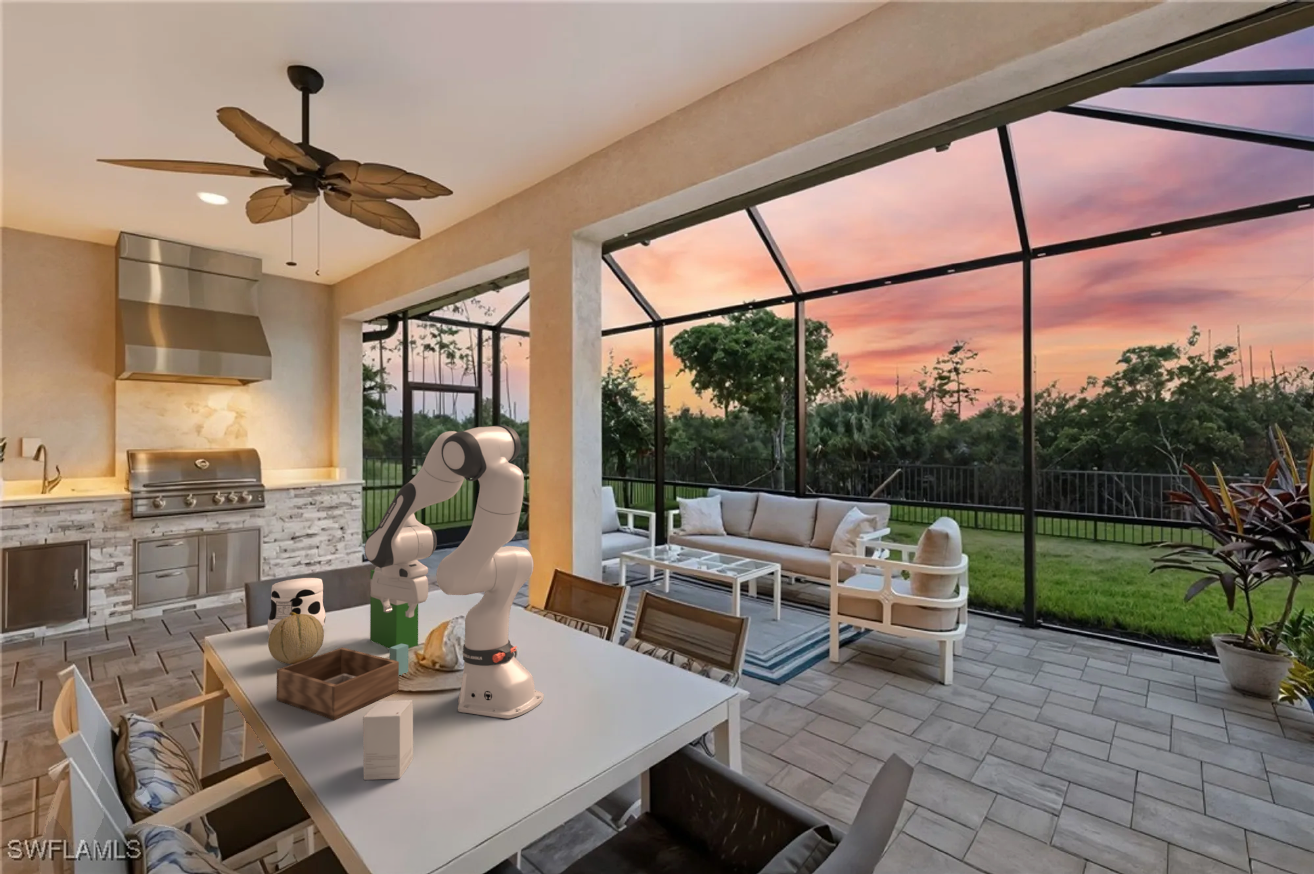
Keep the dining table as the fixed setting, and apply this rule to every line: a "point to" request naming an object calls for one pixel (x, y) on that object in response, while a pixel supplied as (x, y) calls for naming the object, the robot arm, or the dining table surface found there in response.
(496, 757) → the dining table surface
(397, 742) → the supplement box
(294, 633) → the cantaloupe
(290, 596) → the milk container
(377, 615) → the hardback book
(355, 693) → the walled box
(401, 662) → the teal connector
